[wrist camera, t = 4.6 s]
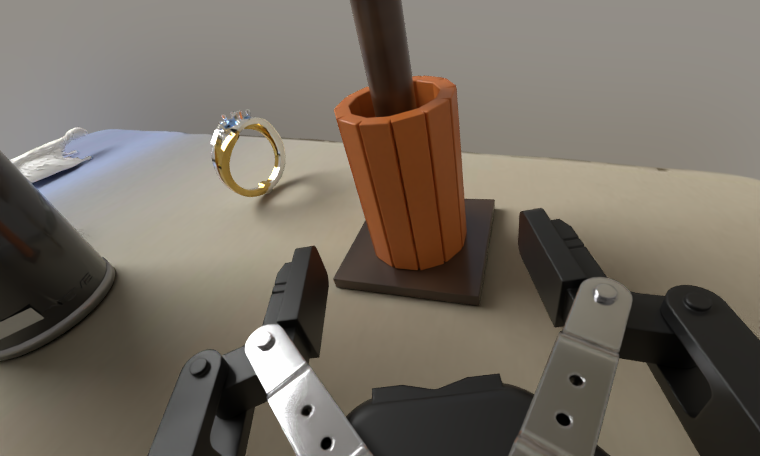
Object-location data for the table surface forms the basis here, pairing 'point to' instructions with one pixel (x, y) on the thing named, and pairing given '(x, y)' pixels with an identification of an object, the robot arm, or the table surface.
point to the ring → (223, 153)
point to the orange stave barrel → (408, 174)
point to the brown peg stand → (466, 268)
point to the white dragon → (49, 157)
